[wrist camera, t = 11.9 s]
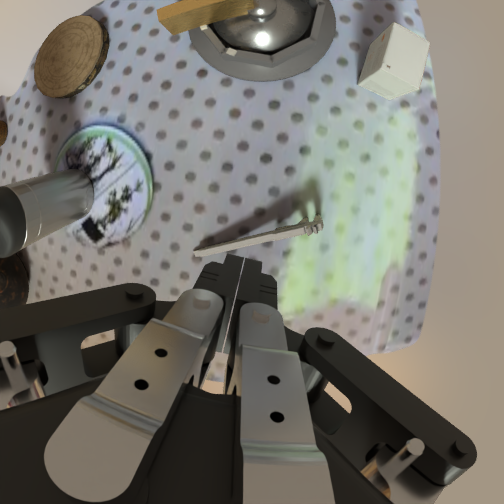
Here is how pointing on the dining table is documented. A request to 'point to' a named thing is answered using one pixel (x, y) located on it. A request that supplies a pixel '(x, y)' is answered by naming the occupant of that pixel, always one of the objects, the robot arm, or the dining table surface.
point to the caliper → (266, 236)
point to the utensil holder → (3, 132)
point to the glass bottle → (13, 282)
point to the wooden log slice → (71, 57)
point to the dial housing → (272, 64)
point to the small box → (394, 62)
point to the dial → (242, 21)
